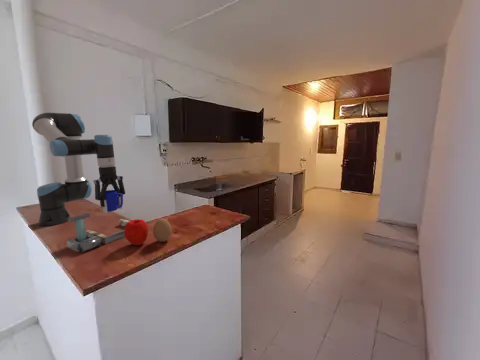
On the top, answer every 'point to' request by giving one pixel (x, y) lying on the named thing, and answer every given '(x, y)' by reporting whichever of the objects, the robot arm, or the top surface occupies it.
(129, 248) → the top surface
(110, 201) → the mug
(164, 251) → the top surface
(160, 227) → the egg
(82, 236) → the crank peg
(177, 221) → the top surface
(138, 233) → the apple
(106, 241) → the bay
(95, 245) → the block
